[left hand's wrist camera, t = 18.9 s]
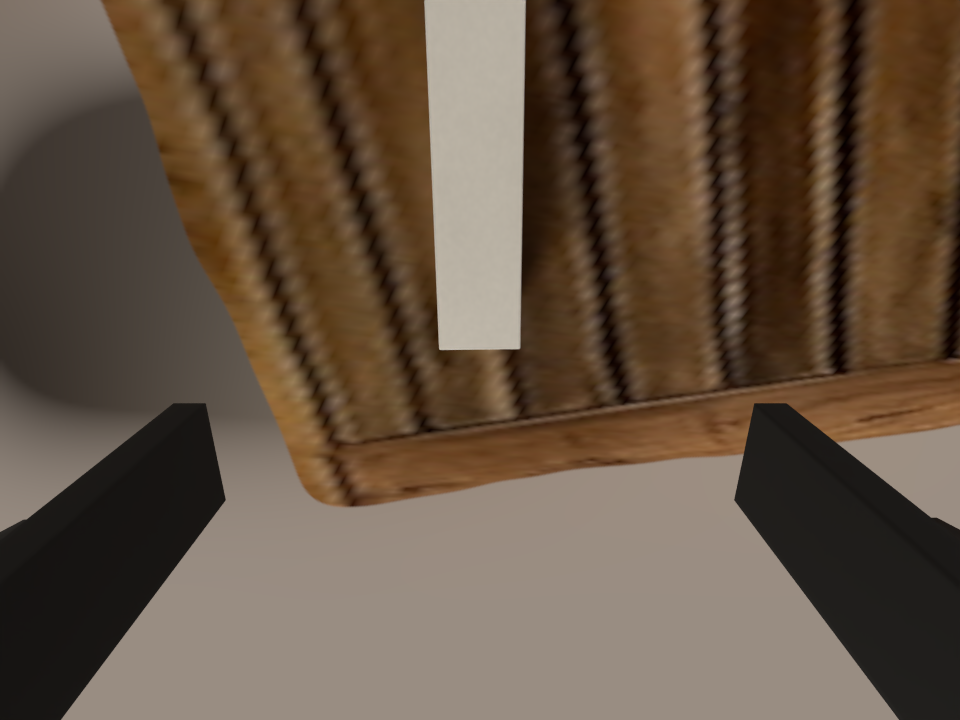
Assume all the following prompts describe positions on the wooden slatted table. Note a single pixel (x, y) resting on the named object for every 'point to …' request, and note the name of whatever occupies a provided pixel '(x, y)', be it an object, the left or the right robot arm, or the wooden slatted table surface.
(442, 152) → the bar
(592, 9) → the wooden slatted table surface
